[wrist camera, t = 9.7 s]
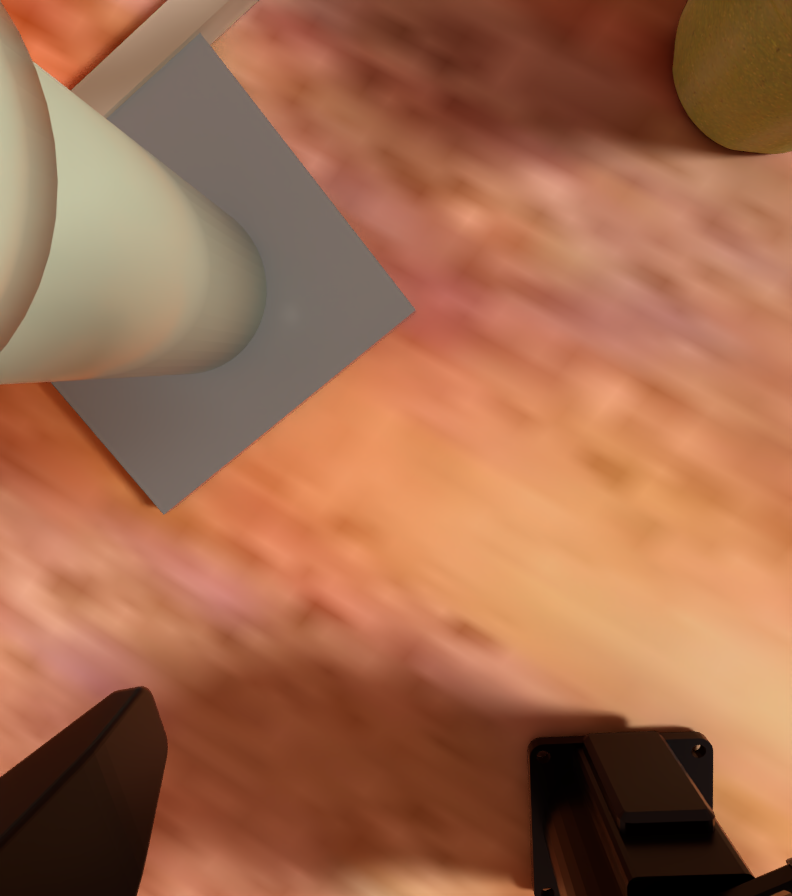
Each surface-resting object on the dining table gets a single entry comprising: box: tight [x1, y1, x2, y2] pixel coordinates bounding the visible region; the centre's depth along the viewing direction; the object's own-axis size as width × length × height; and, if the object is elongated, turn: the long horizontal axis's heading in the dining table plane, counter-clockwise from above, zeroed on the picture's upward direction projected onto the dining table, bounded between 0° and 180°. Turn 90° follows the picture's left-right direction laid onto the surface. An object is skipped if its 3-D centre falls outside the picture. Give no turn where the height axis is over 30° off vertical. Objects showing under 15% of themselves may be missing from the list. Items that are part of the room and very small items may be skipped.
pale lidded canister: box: [0, 1, 267, 384], centre depth 13 cm, size 7×7×14 cm
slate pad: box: [51, 33, 416, 514], centre depth 20 cm, size 11×11×1 cm
